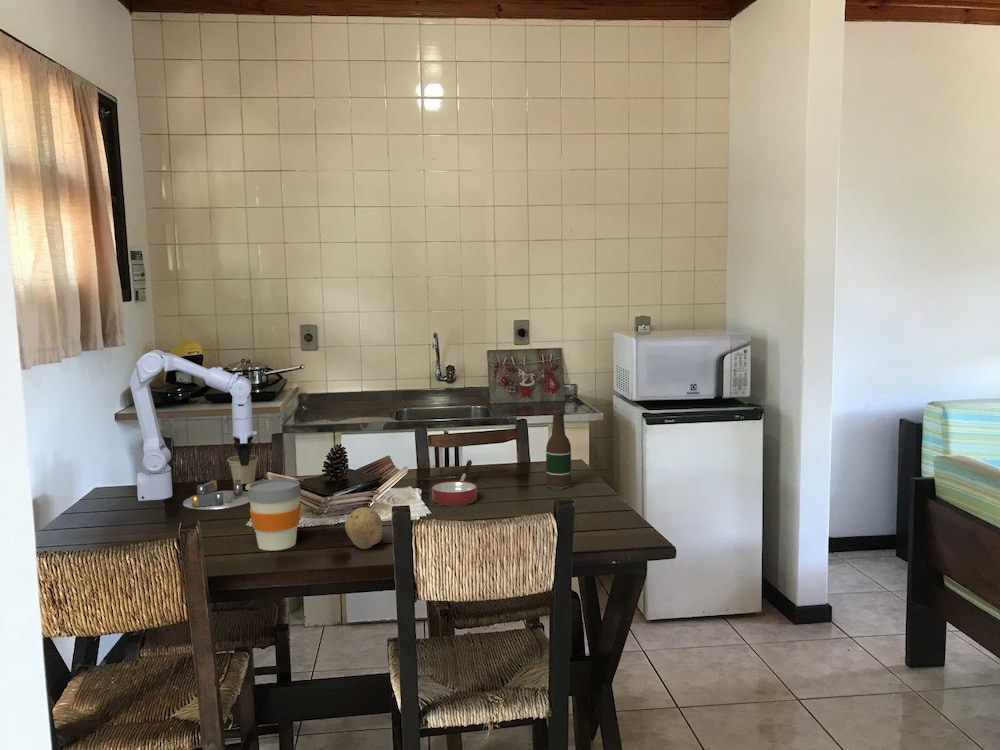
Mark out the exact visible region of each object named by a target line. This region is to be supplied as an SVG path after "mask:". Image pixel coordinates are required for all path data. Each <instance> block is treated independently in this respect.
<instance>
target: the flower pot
mask: <svg viewBox="0 0 1000 750" xmlns="http://www.w3.org/2000/svg"><path fill="white" fill-rule="evenodd" d="M258 460H259V456H258V455H254V454H253V455H252V454H250V459H249V465H248V466H241V464H240V460H239V456H238V455H236V456H235V455H233V456H230V457H229V458H227V459H226V461H227V462H228V465H229V467H230V470H231V471H230V472H231V476H232V480H233V481H232V483H234V480H237V479H241V484H242V485H245V484H246V485H247V484H251V483H250V482H252V483H254V482H256V469H257V464H258ZM253 481H254V482H253Z"/></svg>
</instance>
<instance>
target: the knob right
mask: <svg viewBox="0 0 1000 750" xmlns="http://www.w3.org/2000/svg"><path fill="white" fill-rule="evenodd" d="M233 491H234V495H242V494H243V492H242V491H243V484H241V479H237V480H234V482H233Z"/></svg>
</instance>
